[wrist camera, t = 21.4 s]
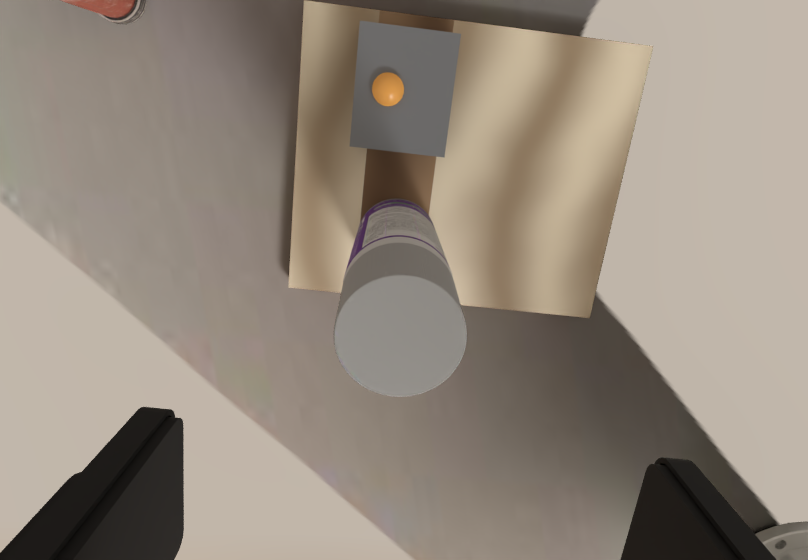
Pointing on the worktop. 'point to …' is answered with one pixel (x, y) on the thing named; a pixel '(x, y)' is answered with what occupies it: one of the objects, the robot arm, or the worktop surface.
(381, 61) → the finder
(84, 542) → the robot arm
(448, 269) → the container
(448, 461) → the worktop surface
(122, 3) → the lighter
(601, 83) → the board
